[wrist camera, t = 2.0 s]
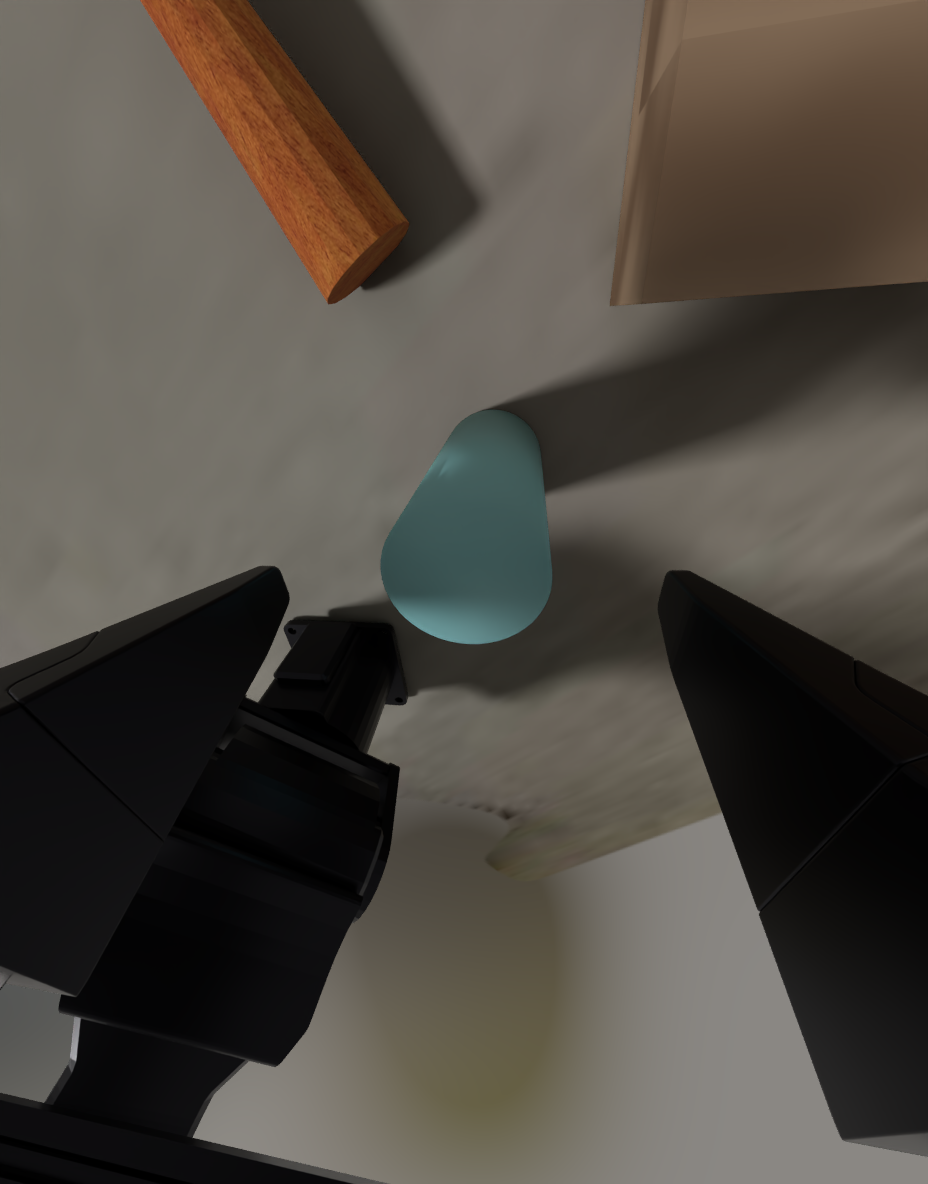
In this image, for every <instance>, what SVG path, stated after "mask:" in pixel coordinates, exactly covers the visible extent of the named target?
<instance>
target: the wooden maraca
mask: <svg viewBox="0 0 928 1184" xmlns="http://www.w3.org/2000/svg"><path fill="white" fill-rule="evenodd" d="M140 1H141V2H142V4H143V5H144V7H145V9H146V10H147V12H148V14H149V15H150V17H151V18H152V20H153V22H154V23H155V25H156V26H157V28H158V30H159V31H160V33H161V35H162V36H163V38H164V39H165V41H166V43H167V44H168V46H169V47H170V49H171V51H172V52H173V54H174V56H175V57H176V59H177V60H178V62H179V64H180V65H181V67H182V68H183V70H184V72H185V73H186V75H187V77H188V78H189V80H190V81H191V83H192V85H193V86H194V88H195V89H196V91H197V93H198V94H199V96H200V98H201V99H202V101H203V102H204V104H205V106H206V107H207V109H208V110H209V112H210V114H211V115H212V117H213V119H214V120H215V122H216V123H217V125H218V127H219V128H220V130H221V131H222V133H223V135H224V136H225V138H226V140H227V141H228V143H229V144H230V146H231V148H232V149H233V151H234V152H235V154H236V156H237V157H238V159H239V161H240V162H241V164H242V165H243V167H244V169H245V170H246V172H247V173H248V175H249V177H250V178H251V180H252V182H253V183H254V185H255V186H256V188H257V190H258V191H259V193H260V194H261V196H262V198H263V199H264V201H265V202H266V204H267V206H268V207H269V209H270V211H271V212H272V214H273V215H274V217H275V219H276V220H277V222H278V223H279V225H280V227H281V228H282V230H283V232H284V233H285V235H286V236H287V238H288V240H289V241H290V243H291V244H292V246H293V248H294V249H295V251H296V253H297V254H298V256H299V257H300V259H301V261H302V262H303V264H304V265H305V267H306V269H307V270H308V272H309V274H310V275H311V277H312V278H313V280H314V282H315V283H316V285H317V286H318V288H319V290H320V291H321V293H322V295H323V296H324V298H325V299H326V301H327V303H328V304H334V303H337V302H338V301H340V300H342V299H343V298H345V297H347V296H348V295H349V294H350V293H352V292H353V291H354V290H355V289H357V288H358V287H359V286H360V285H361V284H362V283H363V282H364V281H365V280H366V279H367V278H368V277H369V276H370V275H371V274H372V273H373V272H374V271H375V270H376V268H377V267H378V266H379V265H380V264H381V263H382V262H383V261H384V260H385V259H386V258H387V257H388V256H389V255H390V254H391V253H392V251H393V250H394V249H395V248H396V247H397V246H398V245H399V244H400V242H401V240H402V239H403V237H404V236H405V234H406V233H407V230H408V227H409V222H408V221H407V219H406V218H405V217H404V215H403V214H402V212H401V211H400V210H399V208H398V207H397V206H396V204H395V203H394V201H393V200H392V199H391V197H390V196H389V195H388V193H387V192H386V190H385V189H384V188H383V186H382V185H381V184H380V182H379V181H378V179H377V178H376V177H375V175H374V174H373V173H372V171H371V170H370V168H369V167H368V166H367V164H366V163H365V162H364V160H363V159H362V157H361V156H360V155H359V153H358V152H357V151H356V149H355V148H354V146H353V145H352V144H351V142H350V141H349V140H348V138H347V137H346V135H345V134H344V133H343V131H342V130H341V129H340V127H339V126H338V124H337V123H336V122H335V120H334V119H333V118H332V116H331V115H330V113H329V112H328V111H327V109H326V108H325V107H324V105H323V104H322V102H321V101H320V100H319V98H318V97H317V96H316V94H315V93H314V91H313V90H312V89H311V87H310V86H309V85H308V83H307V82H306V80H305V79H304V78H303V76H302V75H301V74H300V72H299V71H298V69H297V68H296V67H295V65H294V64H293V63H292V61H291V60H290V58H289V57H288V56H287V54H286V53H285V52H284V50H283V49H282V47H281V46H280V45H279V43H278V42H277V41H276V39H275V38H274V36H273V35H272V34H271V32H270V31H269V30H268V28H267V27H266V25H265V24H264V23H263V21H262V20H261V19H260V17H259V16H258V14H257V13H256V12H255V10H254V9H253V8H252V6H251V5H250V3H249V2H248V1H247V0H140Z"/></svg>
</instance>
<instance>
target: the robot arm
mask: <svg viewBox="0 0 928 1184" xmlns="http://www.w3.org/2000/svg"><path fill="white" fill-rule="evenodd" d="M289 600H290V597H289V592H288V590H287V587H286V584H285V582H284V579H283V576H282V574H281V571H280V570H279V569H278V568H277V567H275V566H259V567H256V568H253V569H251V570H248V571H246V572H243V573H241V574H238V575H236V576H233V577H231V578H229V579H226V580H224V581H221V582H219V583H216V584H214V585H211V586H209V587H206V588H204V589H201V590H199V591H196V592H194V593H191V594H189V595H186V596H184V597H181V598H179V599H176V600H174V601H171V602H169V603H166V604H164V605H161V606H159V607H156V608H154V609H151V610H149V611H146V612H144V613H141V614H139V615H136V616H134V617H131V618H129V619H126V620H124V621H121V622H119V623H116V624H114V625H111V626H109V627H106V628H104V629H102V630H101V631H100V632H99V631H96V632H94V633H91V634H89V635H86V636H84V637H81V638H79V639H76V640H74V641H71V642H68V643H66V644H63V645H61V646H58V647H56V648H53V649H51V650H48V651H45V652H43V653H40V654H37V655H35V656H32V657H29V658H27V659H24V660H21V661H19V662H16V663H13V664H11V665H8V666H5V667H2V668H0V990H1V988H2V987H3V986H4V984H10V985H16V986H21V987H26V988H32V989H37V990H42V991H47V992H53V993H58V994H61V998H60V1002H59V1012H60V1013H62V1014H66V1015H70V1016H74V1027H73V1036H72V1046H71V1055H70V1060H69V1063H68V1065H67V1066H66V1068H65V1070H64V1071H63V1073H62V1075H61V1076H60V1078H59V1079H58V1081H57V1083H56V1084H55V1086H54V1088H53V1089H52V1091H51V1092H50V1094H49V1096H48V1097H47V1099H46V1101H45V1102H44V1103H42V1102H37V1101H33V1100H29V1099H25V1098H20V1097H16V1096H12V1095H8V1094H3V1093H0V1184H387V1183H383V1182H379V1181H375V1180H370V1179H366V1178H362V1177H358V1176H353V1175H349V1174H345V1173H340V1172H336V1171H332V1170H328V1169H323V1168H319V1167H314V1166H310V1165H306V1164H302V1163H298V1162H294V1161H289V1160H285V1159H281V1158H276V1157H272V1156H268V1155H264V1154H259V1153H255V1152H251V1151H247V1150H242V1149H238V1148H234V1147H229V1146H225V1145H221V1144H216V1143H212V1142H208V1141H204V1140H200V1139H195V1138H192V1137H193V1135H194V1133H195V1131H196V1129H197V1127H198V1125H199V1122H200V1120H201V1118H202V1116H203V1114H204V1112H205V1110H206V1108H207V1106H208V1104H209V1103H210V1101H211V1099H212V1097H213V1095H214V1094H215V1093H216V1091H218V1090H219V1089H220V1088H221V1087H222V1086H223V1085H224V1084H225V1083H226V1082H227V1081H228V1080H229V1079H230V1078H231V1077H232V1076H234V1075H235V1074H236V1073H237V1072H238V1071H239V1070H240V1069H241V1068H242V1067H243V1066H244V1065H245V1064H246V1063H247V1062H248V1061H253V1062H256V1063H260V1064H264V1065H269V1066H272V1067H276V1066H278V1065H279V1064H280V1063H281V1062H282V1061H283V1059H284V1058H285V1057H286V1056H287V1054H289V1052H290V1051H291V1050H292V1049H293V1047H294V1046H295V1045H296V1043H297V1042H298V1041H299V1040H300V1038H301V1037H302V1036H303V1035H304V1033H305V1032H306V1030H307V1029H308V1027H309V1024H310V1022H311V1019H312V1017H313V1014H314V1011H315V1009H316V1006H317V1003H318V1000H319V998H320V995H321V992H322V990H323V987H324V985H325V982H326V979H327V976H328V974H329V972H330V969H331V966H332V964H333V961H334V959H335V956H336V954H337V952H338V950H339V948H340V946H341V943H342V941H343V939H344V937H345V935H346V932H347V930H348V928H349V927H350V925H351V923H354V922H355V921H357V920H358V919H359V918H360V917H361V915H362V914H363V913H364V911H365V910H366V908H367V907H368V905H369V903H370V902H371V900H372V898H373V896H374V894H375V892H376V890H377V887H378V885H379V882H380V880H381V877H382V875H383V872H384V869H385V866H386V863H387V859H388V855H389V851H390V846H391V839H392V831H393V822H394V814H395V806H396V797H397V789H398V780H399V772H400V767H399V766H396V765H394V764H392V763H389V764H388V763H386V762H383V761H381V760H379V759H377V758H375V757H373V756H371V755H369V754H367V752H368V749H369V747H370V744H371V741H372V738H373V736H374V733H375V730H376V727H377V725H378V722H379V719H380V716H381V714H382V711H383V708H384V705H385V704H388V705H404V704H406V703H407V699H408V692H407V688H406V683H405V678H404V674H403V669H402V665H401V660H400V655H399V651H398V646H397V641H396V637H395V632H394V629H393V627H392V626H391V625H389V624H386V623H365V622H335V621H305V620H290V621H288V622H287V624H286V625H285V626H284V632H285V634H286V636H287V639H288V641H289V644H290V646H291V650H290V651H289V653H288V654H287V655H286V657H285V658H284V660H283V661H282V663H281V664H280V665H279V667H278V668H277V670H276V671H275V673H274V677H275V679H274V680H273V681H272V683H271V684H270V686H269V687H268V689H267V690H266V692H265V693H264V695H263V696H262V697H261V699H260V700H259V702H255V701H253V700H251V699H249V698H247V697H246V696H247V695H246V692H247V691H248V689H249V687H250V685H251V683H252V682H253V680H254V678H255V676H256V674H257V672H258V671H259V669H260V667H261V665H262V663H263V662H264V660H265V658H266V656H267V654H268V652H269V650H270V647H271V645H272V643H273V640H274V638H275V636H276V633H277V631H278V628H279V626H280V624H281V621H282V619H283V616H284V614H285V612H286V609H287V607H288V604H289ZM658 614H659V619H660V623H661V628H662V633H663V637H664V642H665V646H666V651H667V656H668V660H669V664H670V668H671V672H672V675H673V678H674V681H675V684H676V686H677V689H678V692H679V695H680V697H681V700H682V703H683V706H684V709H685V711H686V714H687V717H688V720H689V722H690V725H691V728H692V731H693V733H694V736H695V739H696V742H697V744H698V747H699V750H700V753H701V755H702V758H703V761H704V764H705V766H706V769H707V772H708V775H709V778H710V780H711V783H712V786H713V789H714V791H715V794H716V797H717V800H718V802H719V805H720V808H721V811H722V813H723V816H724V819H725V822H726V824H727V827H728V830H729V833H730V835H731V838H732V841H733V843H734V846H735V849H736V852H737V855H738V858H739V860H740V863H741V866H742V869H743V871H744V874H745V877H746V880H747V882H748V885H749V888H750V891H751V893H752V896H753V899H754V902H755V904H756V907H757V909H758V911H760V913H759V916H760V919H761V921H762V925H763V927H764V930H765V933H766V936H767V938H768V941H769V944H770V946H771V949H772V952H773V955H774V958H775V961H776V963H777V966H778V969H779V972H780V974H781V977H782V980H783V983H784V985H785V988H786V991H787V994H788V996H789V999H790V1002H791V1005H792V1007H793V1010H794V1013H795V1016H796V1018H797V1021H798V1024H799V1027H800V1029H801V1032H802V1035H803V1037H804V1041H805V1043H806V1046H807V1049H808V1052H809V1054H810V1057H811V1060H812V1063H813V1065H814V1068H815V1071H816V1073H817V1076H818V1079H819V1082H820V1085H821V1088H822V1090H823V1093H824V1096H825V1099H826V1101H827V1104H828V1107H829V1110H830V1112H831V1115H832V1117H833V1120H834V1123H835V1124H836V1127H837V1130H838V1132H839V1134H840V1136H841V1138H842V1140H844V1141H846V1142H852V1143H858V1144H862V1145H868V1146H873V1147H878V1148H884V1149H889V1150H894V1151H900V1152H905V1153H910V1154H916V1155H921V1156H927V1157H928V696H927V695H925V694H923V693H921V692H919V691H917V690H915V689H913V688H911V687H909V686H907V685H905V684H904V683H902V682H900V681H898V680H896V679H894V678H892V677H890V676H888V675H886V674H884V673H882V672H880V671H878V670H876V669H874V668H873V667H871V666H869V665H867V664H865V663H863V662H861V661H859V660H855V661H854V658H853V657H852V656H850V655H848V654H846V653H844V652H842V651H840V650H838V649H836V648H835V647H833V646H831V645H829V644H827V643H825V642H823V641H821V640H819V639H818V638H816V637H814V636H812V635H810V634H808V633H806V632H804V631H802V630H800V629H799V628H797V627H795V626H793V625H791V624H789V623H787V622H785V621H783V620H782V619H780V618H778V617H776V616H774V615H772V614H770V613H768V612H766V611H765V610H763V609H761V608H759V607H757V606H755V605H753V604H751V603H749V602H748V601H746V600H744V599H742V598H740V597H738V596H736V595H734V594H732V593H730V592H729V591H727V590H725V589H723V588H721V587H719V586H717V585H715V584H713V583H712V582H710V581H708V580H706V579H704V578H702V577H700V576H698V575H696V574H695V573H693V572H691V571H687V570H671V571H669V572H667V574H666V575H665V578H664V582H663V586H662V590H661V593H660V597H659V601H658ZM294 629H295V630H294ZM382 631H385V632H386V633H384V632H382Z"/></svg>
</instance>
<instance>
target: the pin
mask: <svg viewBox="0 0 928 1184" xmlns="http://www.w3.org/2000/svg"><path fill="white" fill-rule="evenodd" d="M381 575H382V580H383V584H384V587H385V590H386V592H387V594H388V596H389V598H390V600H391V601H392V603H393V605H394V606H395V607H396V608H397V610H398V611H399V612H400V613H401V614H402V615H403V616H404V617H405V618H406V619H407V620H408V621H409V622H411V623H412V624H413V625H415V626H416V627H418V628H419V629H421V630H422V631H424V632H426V633H428V634H430V635H432V636H435V637H437V638H440V639H443V640H447V641H450V642H456V643H463V644H484V643H491V642H496V641H500V640H503V639H506V638H508V637H511V636H513V635H515V634H517V633H519V632H520V631H522V630H523V629H525V628H526V627H527V626H529V625H530V624H531V623H532V622H533V621H534V620H535V619H536V618H537V617H538V616H539V614H540V613H541V612H542V610H543V609H544V607H545V605H546V603H547V601H548V598H549V595H550V592H551V587H552V564H551V554H550V543H549V533H548V522H547V512H546V501H545V491H544V481H543V470H542V460H541V451H540V446H539V442H538V440H537V438H536V435H535V434H534V432H533V430H532V429H531V428H530V427H529V425H528V424H527V423H526V422H525V421H523V420H522V419H521V418H519V417H518V416H516V415H514V414H512V413H509V412H506V411H502V410H484V411H480V412H477V413H474V414H472V415H470V416H468V417H467V418H465V419H464V420H463V421H461V422H460V423H459V424H458V425H457V426H456V428H455V429H454V430H453V432H452V433H451V435H450V437H449V438H448V440H447V441H446V443H445V445H444V446H443V448H442V449H441V451H440V453H439V454H438V456H437V458H436V459H435V461H434V462H433V464H432V466H431V467H430V469H429V470H428V472H427V474H426V475H425V477H424V479H423V480H422V482H421V483H420V485H419V487H418V488H417V490H416V491H415V493H414V495H413V496H412V498H411V499H410V501H409V503H408V504H407V506H406V508H405V509H404V511H403V512H402V514H401V516H400V517H399V519H398V520H397V522H396V524H395V525H394V527H393V528H392V530H391V532H390V533H389V535H388V537H387V539H386V541H385V544H384V547H383V550H382V555H381Z"/></svg>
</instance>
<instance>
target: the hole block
mask: <svg viewBox="0 0 928 1184" xmlns="http://www.w3.org/2000/svg"><path fill="white" fill-rule="evenodd" d="M926 281H928V0H645V9H644V17H643V26H642V35H641V43H640V52H639V60H638V69H637V77H636V86H635V94H634V103H633V111H632V120H631V128H630V137H629V146H628V154H627V163H626V171H625V180H624V188H623V197H622V205H621V214H620V222H619V231H618V239H617V248H616V257H615V265H614V274H613V282H612V291H611V299H610V306H616V305H631V304H646V303H659V302H671V301H684V300H697V299H709V298H722V297H735V296H748V295H760V294H773V293H786V292H799V291H811V290H824V289H837V288H850V287H862V286H875V285H888V284H901V283H913V282H926Z"/></svg>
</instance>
